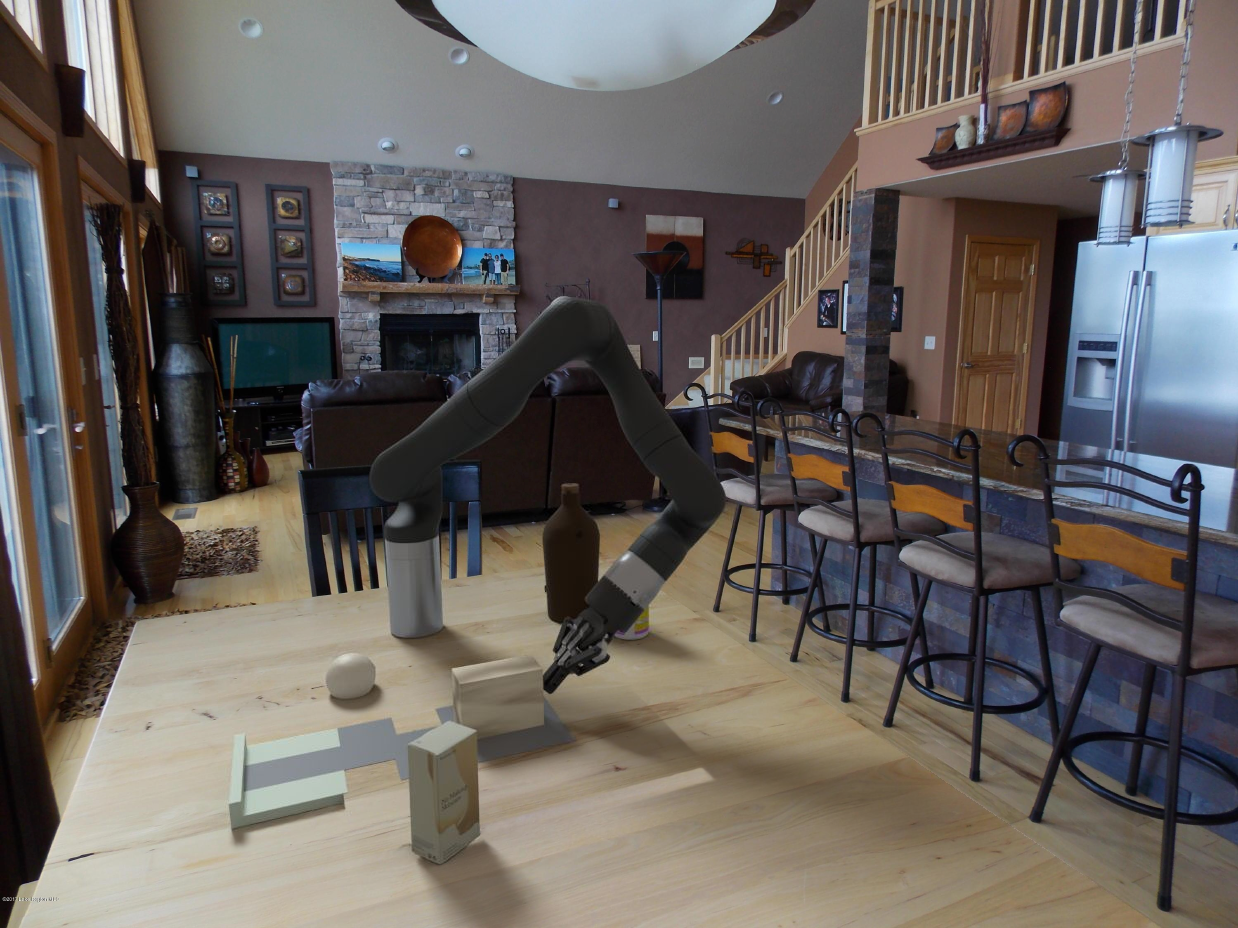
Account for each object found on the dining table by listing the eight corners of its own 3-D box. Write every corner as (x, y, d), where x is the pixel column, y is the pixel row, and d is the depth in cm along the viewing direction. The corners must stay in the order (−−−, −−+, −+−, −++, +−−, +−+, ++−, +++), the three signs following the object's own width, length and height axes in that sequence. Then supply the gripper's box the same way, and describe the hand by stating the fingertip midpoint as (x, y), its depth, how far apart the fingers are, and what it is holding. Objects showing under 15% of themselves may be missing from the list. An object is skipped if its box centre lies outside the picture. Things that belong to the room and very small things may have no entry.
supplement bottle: (650, 627, 143) (649, 558, 140) (647, 641, 136) (647, 570, 134) (613, 626, 143) (612, 557, 141) (609, 640, 137) (608, 569, 135)
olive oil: (612, 612, 150) (611, 483, 146) (574, 629, 142) (572, 493, 137) (570, 600, 156) (568, 476, 152) (532, 616, 148) (528, 485, 144)
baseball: (387, 689, 119) (385, 647, 118) (358, 711, 113) (354, 667, 111) (349, 683, 121) (346, 642, 120) (318, 705, 115) (314, 661, 113)
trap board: (236, 756, 101) (234, 734, 101) (538, 696, 117) (537, 676, 116) (231, 828, 87) (228, 803, 86) (576, 748, 102) (575, 727, 102)
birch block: (454, 724, 106) (451, 668, 105) (533, 708, 111) (531, 654, 109) (462, 742, 102) (459, 684, 100) (544, 724, 106) (542, 668, 105)
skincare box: (440, 867, 80) (434, 756, 78) (410, 852, 83) (403, 744, 80) (483, 832, 86) (478, 728, 83) (453, 820, 88) (448, 717, 86)
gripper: (590, 561, 115) (511, 655, 113) (627, 589, 103) (539, 695, 101) (623, 591, 118) (547, 683, 116) (663, 621, 106) (579, 725, 104)
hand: (544, 688), depth 108 cm, fingers closed
